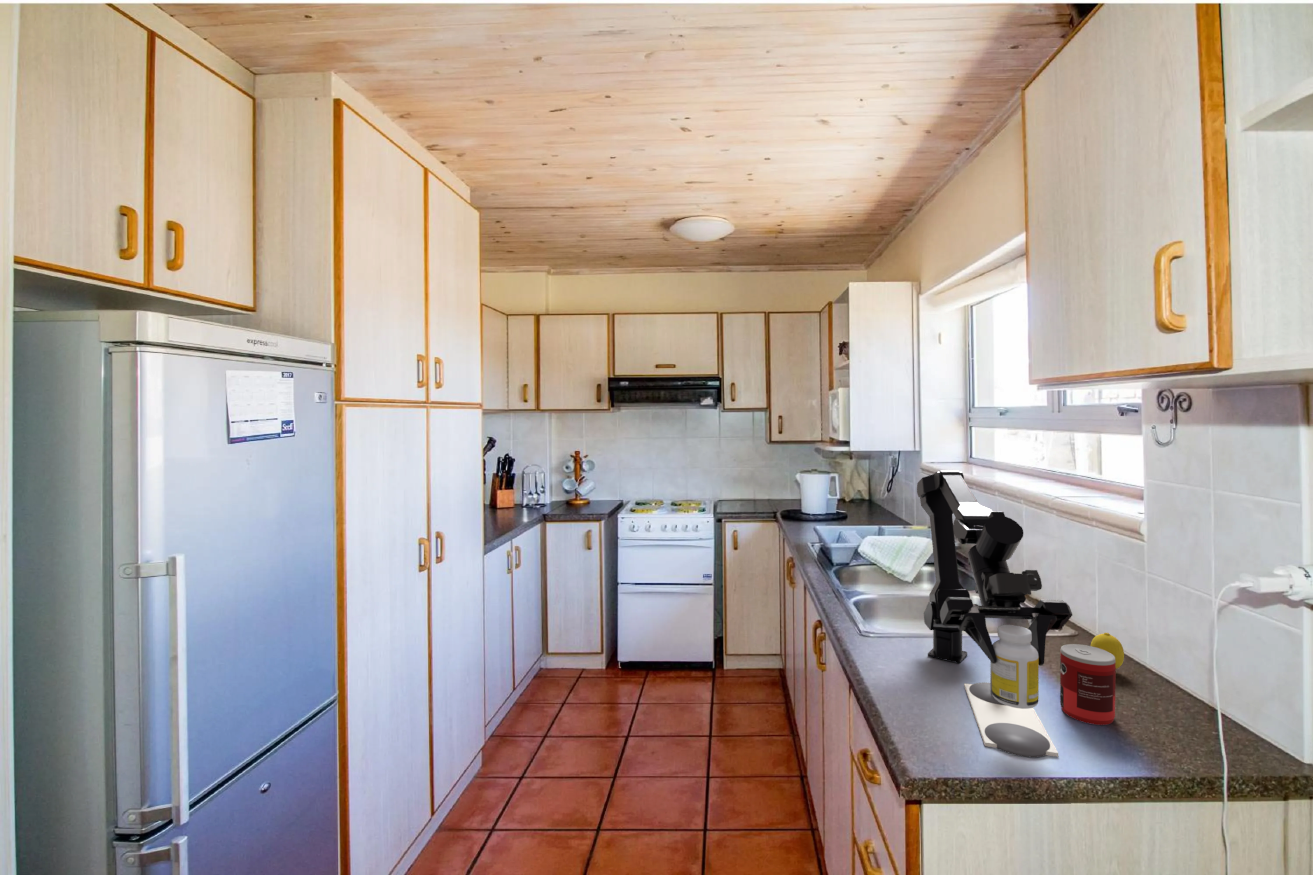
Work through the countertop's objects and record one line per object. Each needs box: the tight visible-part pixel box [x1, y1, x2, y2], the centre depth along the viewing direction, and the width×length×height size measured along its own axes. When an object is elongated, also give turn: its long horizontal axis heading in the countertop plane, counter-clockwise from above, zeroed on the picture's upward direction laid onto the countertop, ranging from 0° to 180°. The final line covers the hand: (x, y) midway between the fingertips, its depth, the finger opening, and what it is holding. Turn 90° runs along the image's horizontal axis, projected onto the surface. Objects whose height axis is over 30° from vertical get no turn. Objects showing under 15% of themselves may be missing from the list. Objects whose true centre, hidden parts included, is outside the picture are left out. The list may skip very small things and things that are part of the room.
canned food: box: [1059, 643, 1117, 726], centre depth 104 cm, size 8×8×11 cm
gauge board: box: [963, 661, 1059, 758], centre depth 104 cm, size 25×10×7 cm, turn 160°
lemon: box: [1089, 632, 1125, 670], centre depth 121 cm, size 6×6×8 cm
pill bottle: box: [992, 624, 1040, 709], centre depth 96 cm, size 6×6×12 cm
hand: (1018, 663), depth 95 cm, fingers closed on pill bottle, 6 cm apart
